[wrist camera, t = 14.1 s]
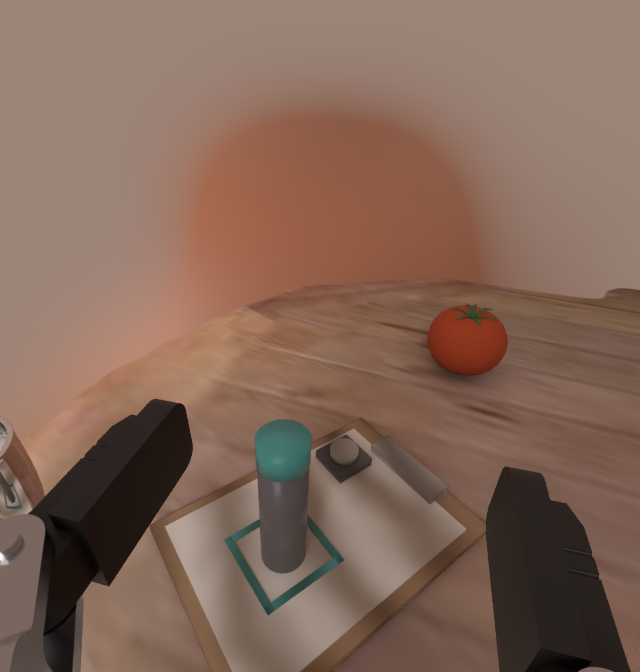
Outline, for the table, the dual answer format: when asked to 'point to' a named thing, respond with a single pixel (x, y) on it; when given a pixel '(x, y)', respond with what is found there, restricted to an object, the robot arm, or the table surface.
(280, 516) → the marker
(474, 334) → the tomato
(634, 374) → the table surface
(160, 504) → the robot arm
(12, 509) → the beer glass
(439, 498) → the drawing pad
